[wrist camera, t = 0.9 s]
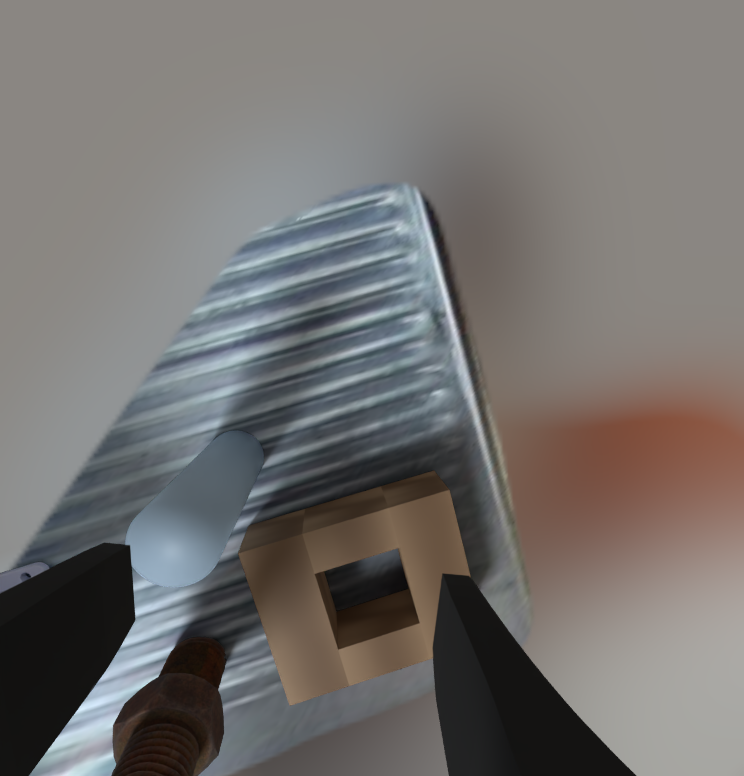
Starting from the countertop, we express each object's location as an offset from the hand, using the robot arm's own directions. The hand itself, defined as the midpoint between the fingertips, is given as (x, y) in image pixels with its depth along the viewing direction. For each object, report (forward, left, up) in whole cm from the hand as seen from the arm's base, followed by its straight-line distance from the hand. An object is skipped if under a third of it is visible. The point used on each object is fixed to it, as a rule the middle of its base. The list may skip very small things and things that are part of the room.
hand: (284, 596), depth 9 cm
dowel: (-4, 0, -14) cm, 14 cm away
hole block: (+1, -8, -14) cm, 16 cm away
